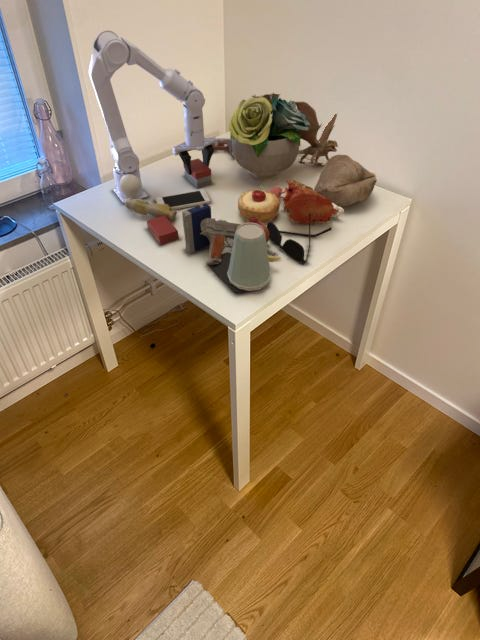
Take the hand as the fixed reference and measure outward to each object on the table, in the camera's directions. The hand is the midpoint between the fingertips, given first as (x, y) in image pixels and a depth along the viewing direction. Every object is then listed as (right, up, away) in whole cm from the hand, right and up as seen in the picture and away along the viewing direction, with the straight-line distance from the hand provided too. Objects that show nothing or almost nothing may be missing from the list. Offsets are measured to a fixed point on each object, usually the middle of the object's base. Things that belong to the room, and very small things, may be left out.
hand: (197, 171), depth 155 cm
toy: (+22, -29, -26) cm, 45 cm away
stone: (+8, -23, -20) cm, 32 cm away
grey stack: (0, -2, +2) cm, 3 cm away
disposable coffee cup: (+16, -28, -47) cm, 57 cm away
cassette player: (+3, -28, -25) cm, 38 cm away
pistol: (+12, -33, -28) cm, 45 cm away
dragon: (+37, +4, +7) cm, 37 cm away
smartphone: (-4, -12, -8) cm, 14 cm away
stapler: (+38, -13, -16) cm, 43 cm away
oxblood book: (0, 0, 0) cm, 0 cm away
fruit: (+17, -29, -26) cm, 43 cm away
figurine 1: (-12, -17, -14) cm, 26 cm away
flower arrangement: (+22, 0, +5) cm, 22 cm away
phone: (+12, -36, -33) cm, 50 cm away
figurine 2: (+24, -15, -11) cm, 30 cm away
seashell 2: (+44, -11, -8) cm, 46 cm away
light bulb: (-19, -15, -10) cm, 26 cm away
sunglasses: (+30, -27, -23) cm, 46 cm away
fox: (+18, -33, -34) cm, 51 cm away
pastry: (+19, -17, -13) cm, 29 cm away
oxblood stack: (-8, -24, -20) cm, 32 cm away
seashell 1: (+25, -14, -20) cm, 35 cm away
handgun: (+7, +9, +11) cm, 16 cm away
